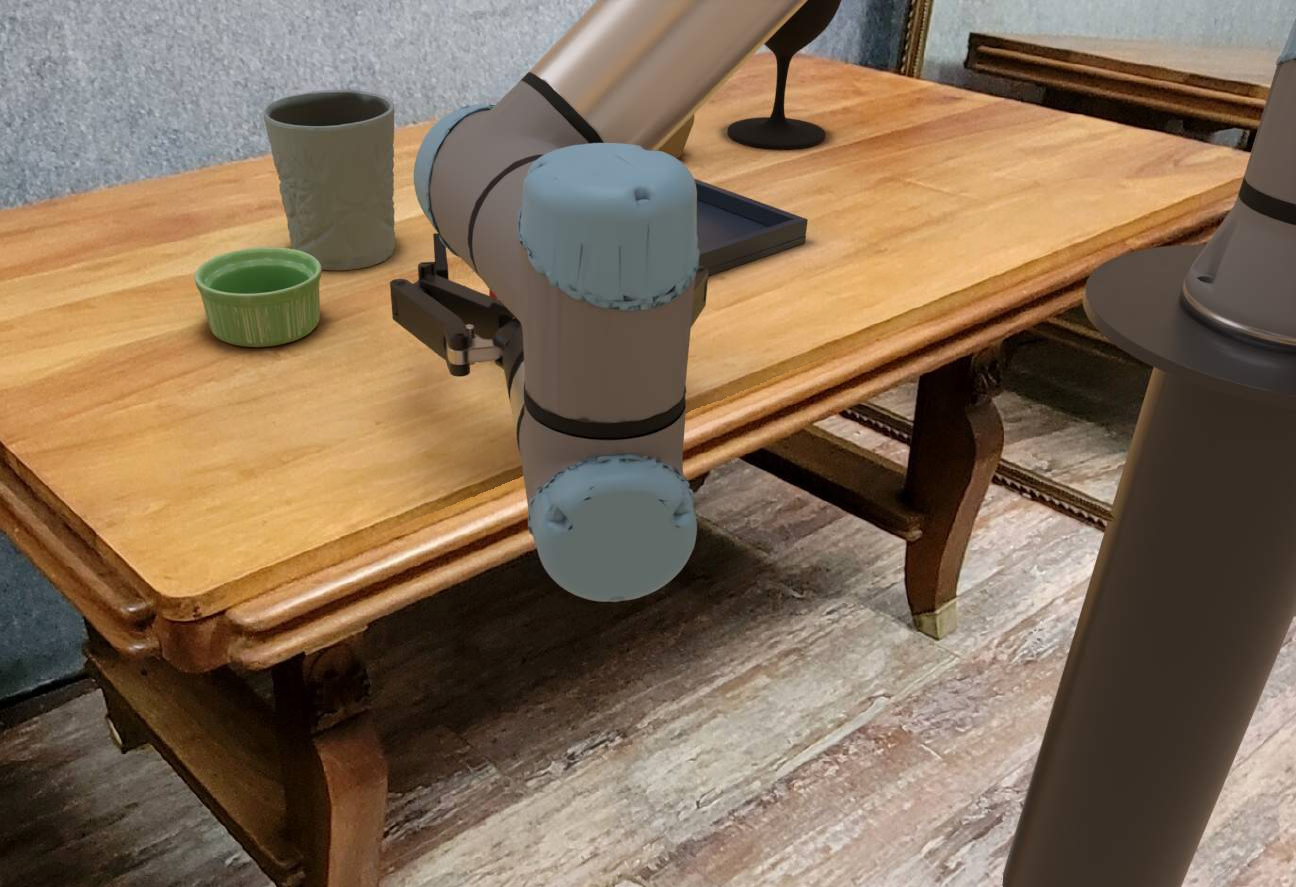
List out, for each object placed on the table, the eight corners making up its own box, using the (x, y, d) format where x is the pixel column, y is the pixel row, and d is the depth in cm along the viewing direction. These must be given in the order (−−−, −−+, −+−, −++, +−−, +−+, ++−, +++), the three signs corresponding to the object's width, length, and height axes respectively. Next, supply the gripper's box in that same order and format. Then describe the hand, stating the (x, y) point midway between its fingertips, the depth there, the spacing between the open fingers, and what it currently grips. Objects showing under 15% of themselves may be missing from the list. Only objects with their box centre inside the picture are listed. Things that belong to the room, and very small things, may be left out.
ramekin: (211, 303, 96) (202, 248, 93) (329, 298, 97) (324, 244, 94) (195, 355, 88) (185, 297, 86) (323, 349, 89) (317, 292, 87)
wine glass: (812, 119, 137) (836, -81, 126) (837, 148, 128) (864, -65, 117) (718, 121, 136) (733, -80, 125) (736, 150, 128) (754, -63, 117)
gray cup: (421, 237, 107) (413, 94, 101) (374, 281, 99) (362, 129, 93) (313, 225, 110) (298, 85, 103) (259, 267, 102) (239, 119, 95)
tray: (805, 242, 106) (808, 219, 105) (671, 288, 98) (673, 263, 97) (663, 189, 118) (664, 167, 117) (533, 226, 110) (532, 203, 109)
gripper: (353, 462, 70) (360, 306, 87) (792, 438, 72) (712, 291, 89) (341, 339, 65) (351, 201, 83) (807, 317, 68) (720, 188, 85)
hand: (538, 247), depth 86 cm, fingers open, 13 cm apart
